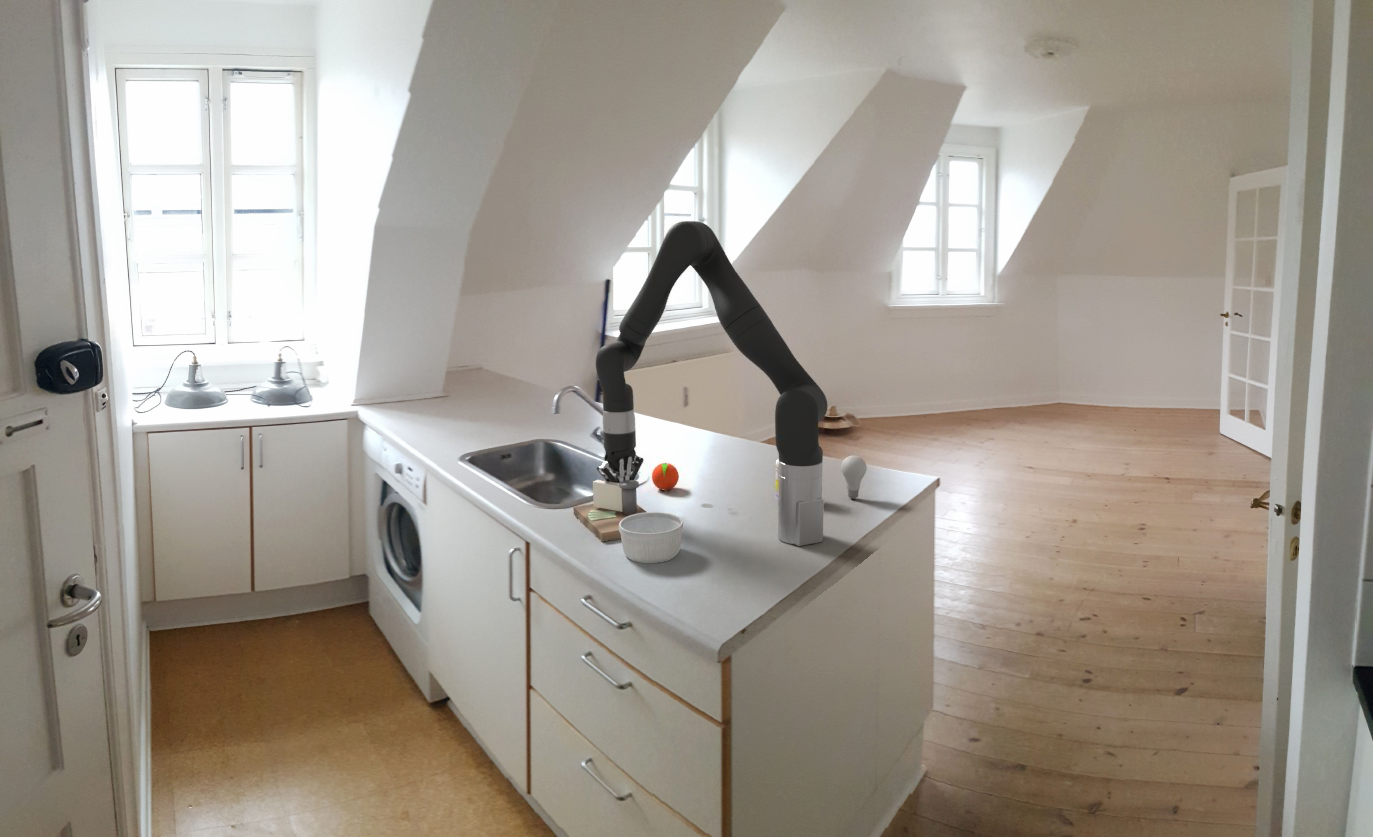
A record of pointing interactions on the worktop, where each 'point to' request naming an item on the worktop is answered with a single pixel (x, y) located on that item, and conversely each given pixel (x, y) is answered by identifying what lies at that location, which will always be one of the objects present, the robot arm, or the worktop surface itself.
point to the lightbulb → (853, 474)
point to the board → (602, 520)
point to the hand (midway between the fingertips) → (621, 499)
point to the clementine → (665, 476)
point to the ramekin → (651, 536)
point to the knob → (616, 495)
